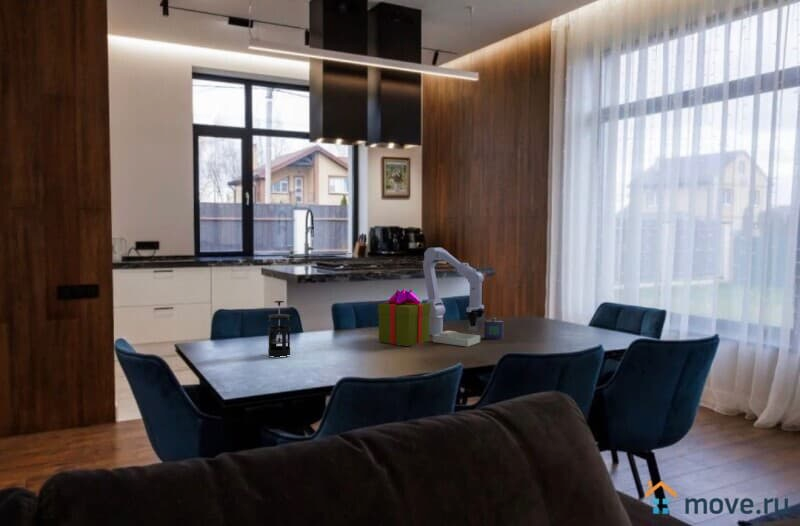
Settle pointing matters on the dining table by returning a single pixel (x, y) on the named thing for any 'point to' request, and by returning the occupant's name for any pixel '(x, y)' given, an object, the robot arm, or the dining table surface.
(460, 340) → the tote
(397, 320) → the gift box
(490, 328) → the flask
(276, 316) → the french press
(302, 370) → the dining table surface
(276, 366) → the dining table surface
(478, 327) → the tin
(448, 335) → the egg box
